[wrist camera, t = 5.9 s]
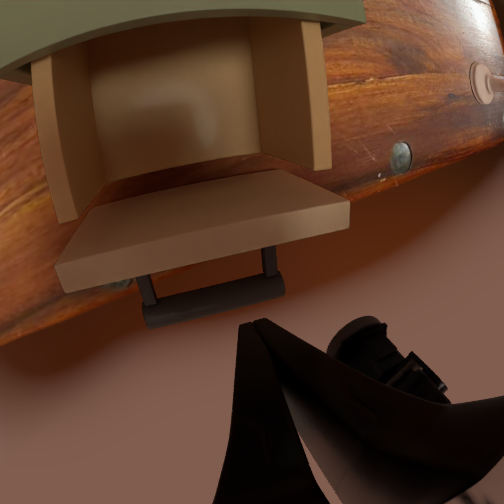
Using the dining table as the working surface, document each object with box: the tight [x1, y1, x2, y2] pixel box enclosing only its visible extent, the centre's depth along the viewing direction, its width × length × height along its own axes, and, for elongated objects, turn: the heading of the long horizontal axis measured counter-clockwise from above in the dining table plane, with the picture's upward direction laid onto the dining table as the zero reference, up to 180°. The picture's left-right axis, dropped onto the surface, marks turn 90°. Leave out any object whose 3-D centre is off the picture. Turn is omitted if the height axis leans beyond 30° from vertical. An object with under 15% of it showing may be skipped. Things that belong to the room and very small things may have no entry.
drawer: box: [31, 16, 350, 329], centre depth 11 cm, size 18×11×7 cm, turn 6°
